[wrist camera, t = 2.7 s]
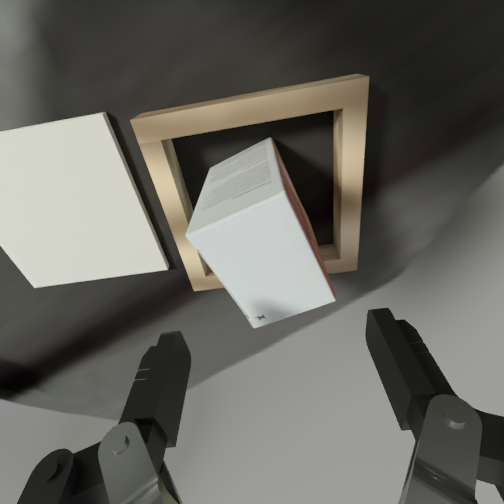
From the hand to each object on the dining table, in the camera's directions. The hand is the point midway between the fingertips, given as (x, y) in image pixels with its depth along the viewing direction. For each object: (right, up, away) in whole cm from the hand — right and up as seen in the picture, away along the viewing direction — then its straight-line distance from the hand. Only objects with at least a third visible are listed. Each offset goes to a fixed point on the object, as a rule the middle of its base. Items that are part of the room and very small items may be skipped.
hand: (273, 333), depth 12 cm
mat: (-17, +7, +13) cm, 22 cm away
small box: (0, +9, +12) cm, 15 cm away
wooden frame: (0, +8, +12) cm, 14 cm away
